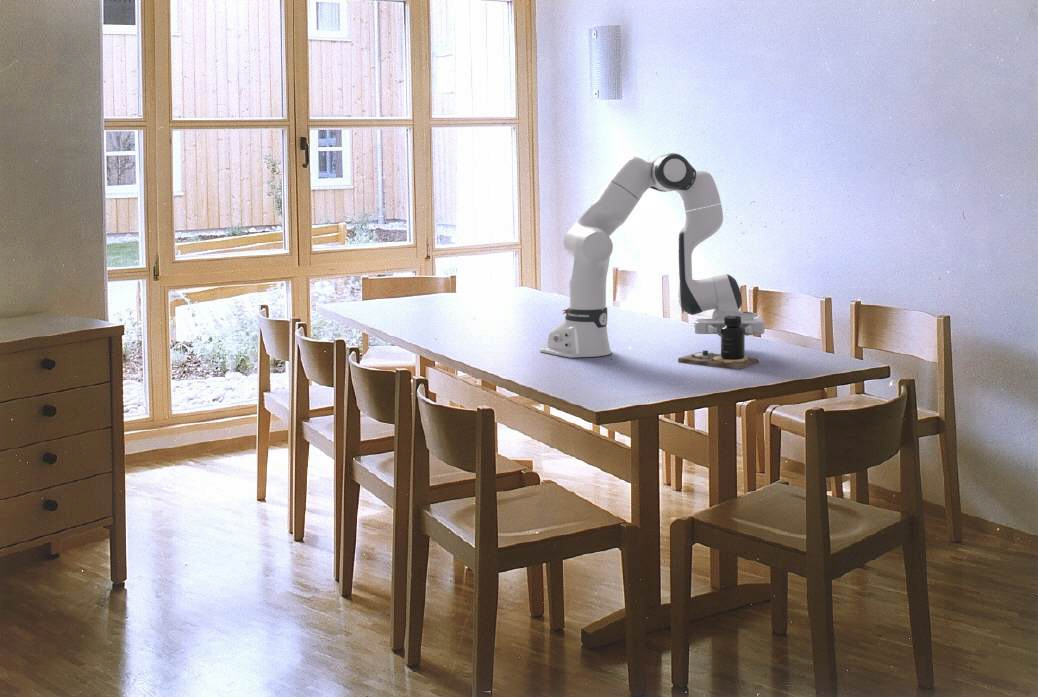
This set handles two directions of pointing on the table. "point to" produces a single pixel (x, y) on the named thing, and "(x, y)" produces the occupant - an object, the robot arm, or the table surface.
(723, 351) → the supplement bottle
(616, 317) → the table surface
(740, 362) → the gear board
